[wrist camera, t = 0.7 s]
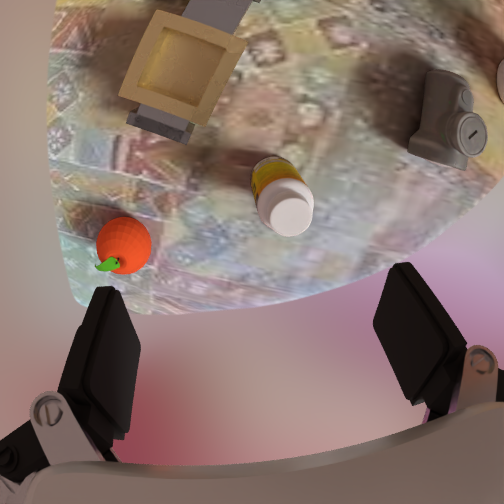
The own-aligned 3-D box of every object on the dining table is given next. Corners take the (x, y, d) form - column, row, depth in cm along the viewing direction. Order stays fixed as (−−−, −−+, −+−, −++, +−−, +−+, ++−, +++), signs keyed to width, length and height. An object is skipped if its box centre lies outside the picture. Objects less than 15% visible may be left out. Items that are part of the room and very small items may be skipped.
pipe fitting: (441, 163, 35) (487, 185, 26) (395, 151, 35) (439, 169, 26) (454, 85, 30) (503, 88, 21) (408, 65, 29) (455, 60, 20)
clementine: (119, 263, 40) (106, 297, 34) (90, 225, 36) (71, 256, 30) (165, 240, 39) (157, 274, 33) (136, 197, 35) (121, 226, 29)
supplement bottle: (241, 167, 34) (249, 205, 26) (285, 147, 34) (309, 179, 25) (261, 205, 38) (274, 253, 29) (302, 187, 37) (328, 229, 28)
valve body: (202, -29, 21) (197, -57, 14) (271, -3, 23) (287, -23, 16) (132, 112, 29) (106, 128, 22) (197, 136, 32) (191, 158, 25)
